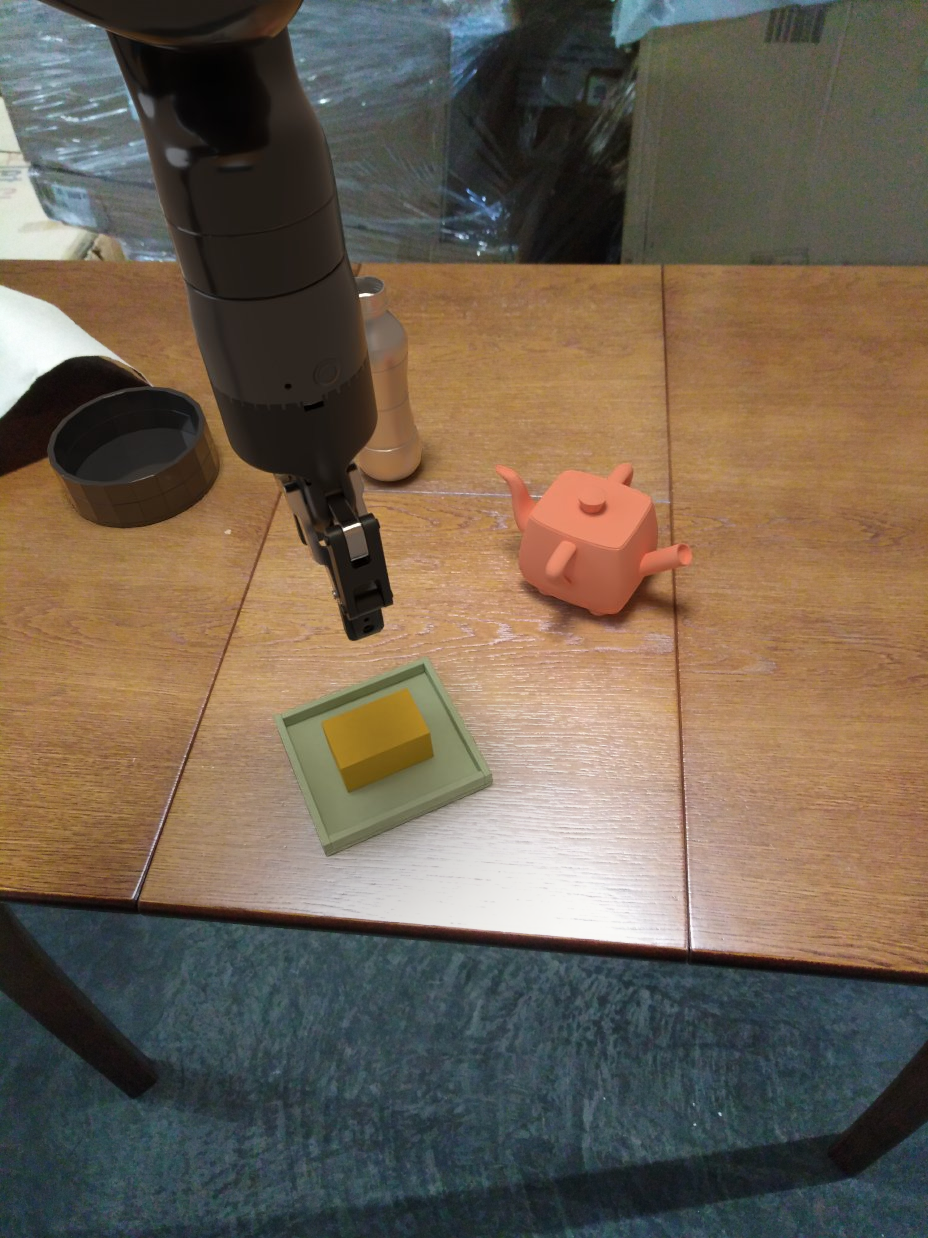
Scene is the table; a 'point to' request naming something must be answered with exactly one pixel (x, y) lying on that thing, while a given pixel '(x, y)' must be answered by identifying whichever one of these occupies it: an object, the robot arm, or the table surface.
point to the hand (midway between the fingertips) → (340, 583)
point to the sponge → (378, 739)
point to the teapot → (590, 538)
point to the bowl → (134, 456)
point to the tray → (397, 794)
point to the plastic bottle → (387, 389)
